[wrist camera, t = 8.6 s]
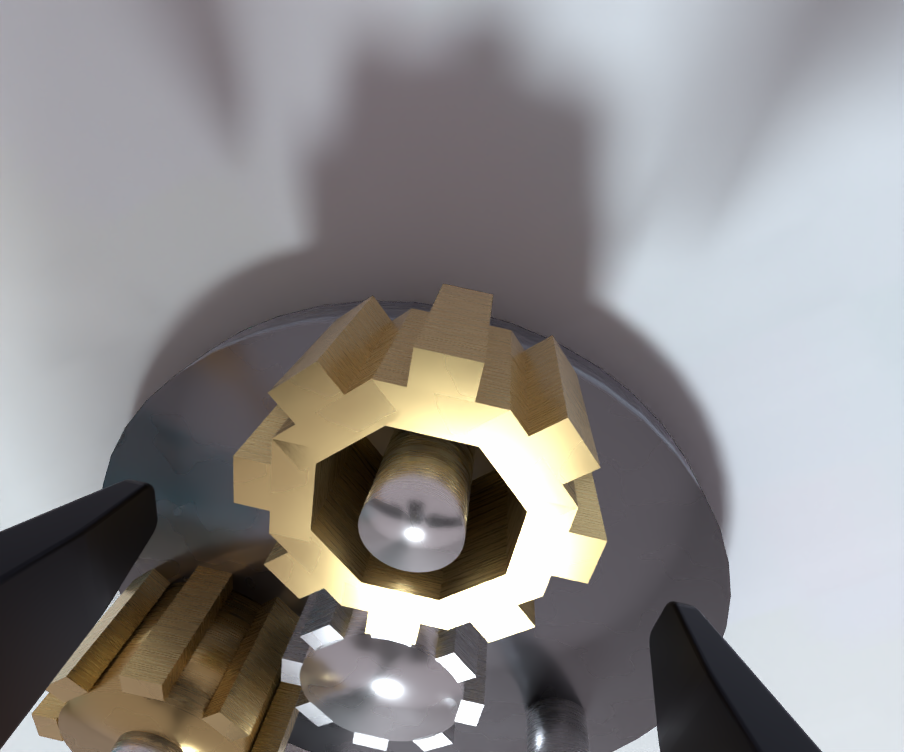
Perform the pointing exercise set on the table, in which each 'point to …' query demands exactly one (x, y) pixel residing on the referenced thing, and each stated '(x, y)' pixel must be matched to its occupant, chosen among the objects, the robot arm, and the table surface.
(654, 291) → the table surface
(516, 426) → the planet gear
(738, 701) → the robot arm
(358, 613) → the carrier
